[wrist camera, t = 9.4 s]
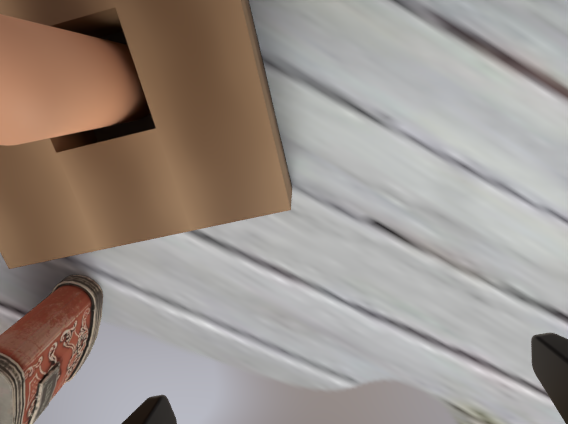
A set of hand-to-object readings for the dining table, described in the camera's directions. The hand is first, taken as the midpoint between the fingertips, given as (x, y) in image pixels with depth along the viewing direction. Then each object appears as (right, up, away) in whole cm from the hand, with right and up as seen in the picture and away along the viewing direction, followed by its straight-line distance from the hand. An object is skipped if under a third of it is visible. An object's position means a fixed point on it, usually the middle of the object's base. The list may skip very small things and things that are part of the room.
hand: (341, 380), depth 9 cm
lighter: (-15, -3, +15) cm, 21 cm away
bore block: (-9, +11, +10) cm, 17 cm away
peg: (-9, +10, +9) cm, 17 cm away
